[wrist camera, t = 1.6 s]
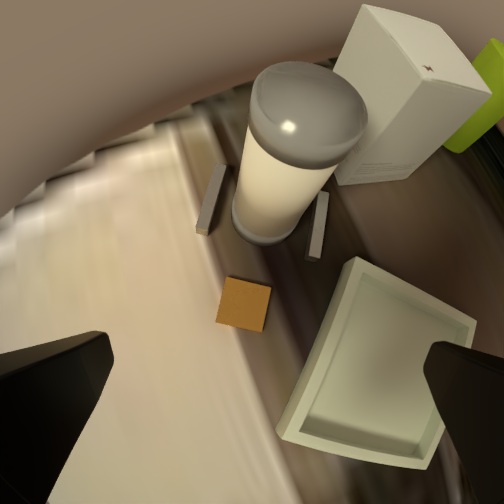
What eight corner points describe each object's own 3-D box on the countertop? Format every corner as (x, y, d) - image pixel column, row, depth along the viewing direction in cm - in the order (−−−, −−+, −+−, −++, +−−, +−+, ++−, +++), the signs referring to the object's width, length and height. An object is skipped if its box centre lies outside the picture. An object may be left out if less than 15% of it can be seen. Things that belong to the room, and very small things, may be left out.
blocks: (299, 340, 20) (305, 340, 19) (175, 311, 20) (172, 310, 18) (323, 199, 23) (329, 193, 22) (215, 171, 23) (215, 163, 21)
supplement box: (406, 181, 25) (497, 97, 13) (336, 188, 24) (421, 77, 11) (377, 115, 27) (440, 23, 14) (309, 115, 25) (360, -1, 13)
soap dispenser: (434, 99, 29) (522, -10, 10) (471, 144, 28) (575, 46, 9) (412, 110, 28) (511, -19, 9) (452, 160, 27) (575, 47, 8)
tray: (411, 462, 18) (425, 469, 16) (274, 429, 18) (281, 438, 16) (460, 323, 22) (476, 320, 20) (344, 263, 22) (356, 256, 20)
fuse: (280, 257, 21) (354, 168, 10) (220, 228, 21) (231, 113, 10) (304, 202, 23) (376, 93, 11) (247, 176, 23) (278, 48, 11)
